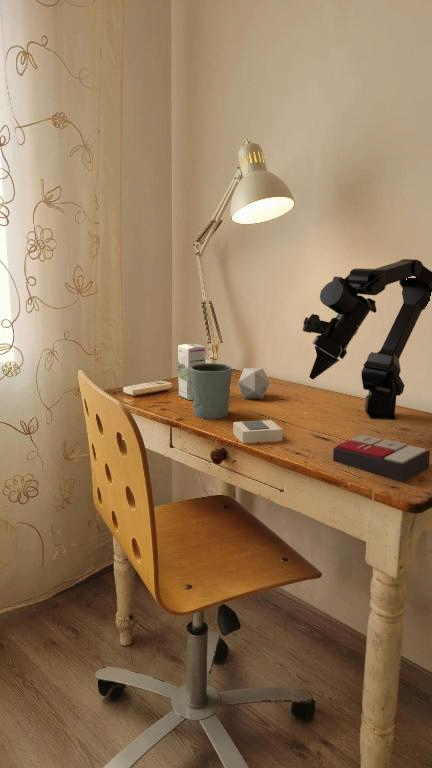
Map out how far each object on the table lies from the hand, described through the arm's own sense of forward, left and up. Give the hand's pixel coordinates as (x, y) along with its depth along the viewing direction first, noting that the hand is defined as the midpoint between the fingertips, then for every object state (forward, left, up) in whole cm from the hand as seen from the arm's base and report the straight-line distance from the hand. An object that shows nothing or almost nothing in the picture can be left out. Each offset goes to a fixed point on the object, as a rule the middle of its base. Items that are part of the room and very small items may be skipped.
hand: (311, 378), depth 134 cm
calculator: (-11, +24, -12) cm, 29 cm away
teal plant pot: (+24, -6, -12) cm, 27 cm away
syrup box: (+30, -22, -12) cm, 39 cm away
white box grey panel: (+8, +9, -10) cm, 16 cm away
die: (+13, -24, -12) cm, 30 cm away
